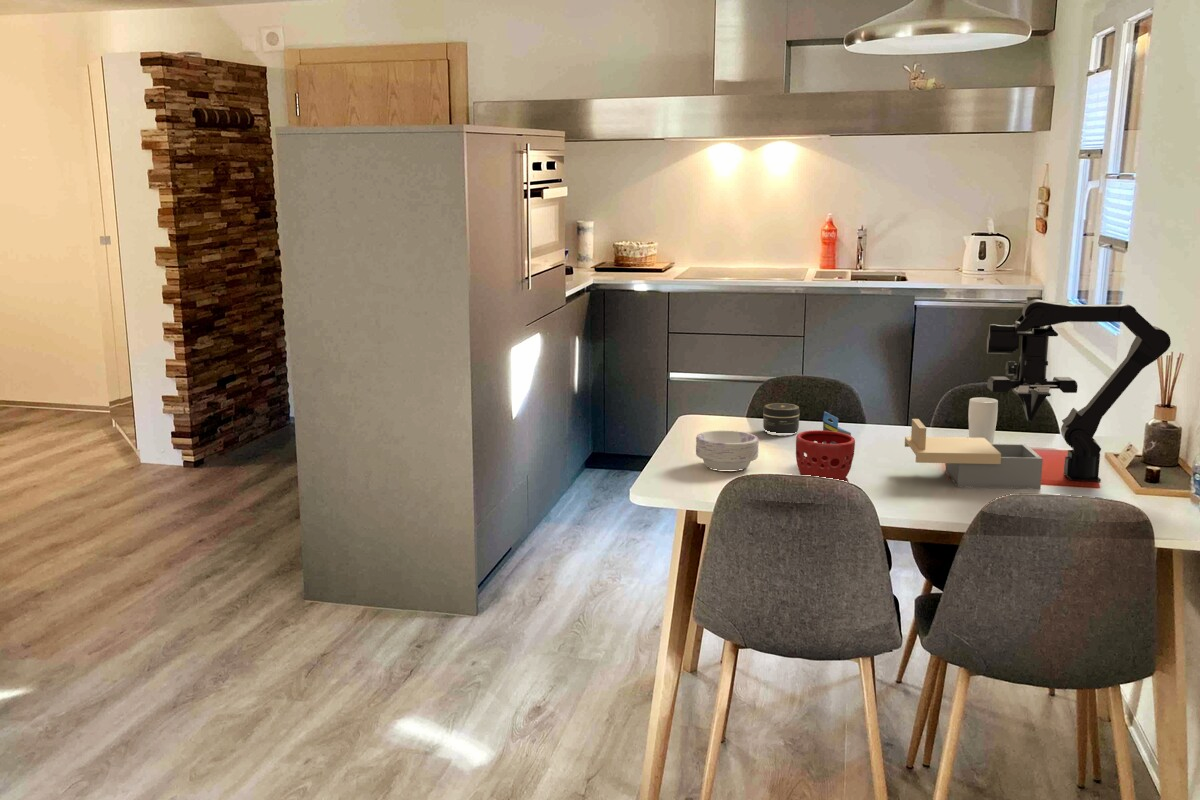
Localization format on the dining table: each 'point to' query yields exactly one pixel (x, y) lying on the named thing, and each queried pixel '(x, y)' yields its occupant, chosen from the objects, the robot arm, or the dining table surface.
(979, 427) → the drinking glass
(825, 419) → the label tape box
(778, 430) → the jar
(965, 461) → the lid
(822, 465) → the plant pot
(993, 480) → the box
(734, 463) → the paper bowls
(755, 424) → the dining table surface
